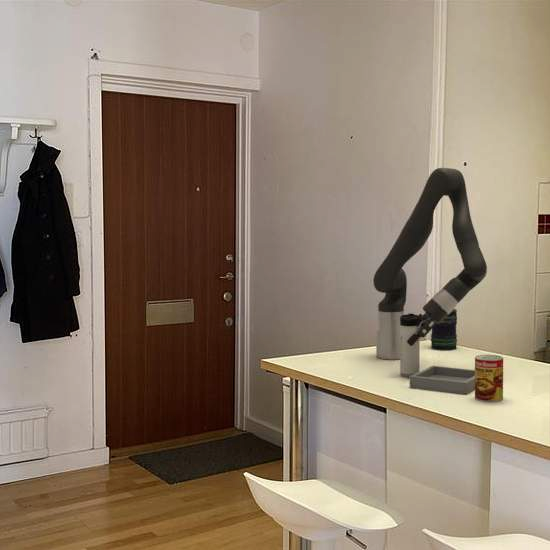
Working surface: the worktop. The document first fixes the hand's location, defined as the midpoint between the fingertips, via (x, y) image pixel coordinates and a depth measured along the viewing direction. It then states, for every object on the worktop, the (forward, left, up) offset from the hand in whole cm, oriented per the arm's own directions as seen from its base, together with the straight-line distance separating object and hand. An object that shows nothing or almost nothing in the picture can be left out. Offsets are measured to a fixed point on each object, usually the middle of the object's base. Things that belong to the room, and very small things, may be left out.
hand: (405, 341), depth 259 cm
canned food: (+33, -16, -11) cm, 38 cm away
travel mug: (+1, +1, -11) cm, 11 cm away
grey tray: (+17, -6, -11) cm, 21 cm away
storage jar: (-7, +51, -11) cm, 52 cm away
